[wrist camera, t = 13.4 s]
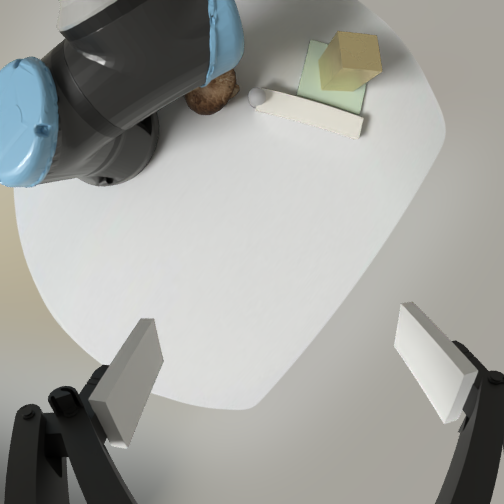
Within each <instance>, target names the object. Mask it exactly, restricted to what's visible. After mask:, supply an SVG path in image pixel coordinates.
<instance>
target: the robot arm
mask: <svg viewBox="0 0 504 504" xmlns="http://www.w3.org/2000/svg"><path fill="white" fill-rule="evenodd" d="M59 1H60V11H59V16H58V22H57V29H58V30H59V31H60V33H61V34H62V35H63V36H64V37H65V38H66V39H64V40H63V41H62V42H61V43H60V44H58V45H57V46H56V47H55V48H54V49H52V50H51V51H50V52H49V53H48V54H47V55H46V56H44V57H43V58H42V59H41V60H40V59H38V58H35V57H27V58H24V59H16V60H14V61H12V62H10V63H9V64H7V65H6V66H5V67H4V68H2V69H1V70H0V183H1V184H2V185H5V186H7V187H26V188H27V187H33V186H36V185H38V184H43V183H49V182H54V181H60V180H66V179H72V178H78V179H80V180H82V181H84V182H86V183H88V184H91V185H95V186H111V185H117V184H121V183H123V182H126V181H128V180H130V179H131V178H133V177H134V176H136V175H137V174H138V173H139V172H140V171H142V169H143V168H144V167H145V166H146V165H147V163H148V162H149V160H150V159H151V157H152V155H153V153H154V151H155V148H156V145H157V141H158V135H159V122H158V117H157V113H156V111H158V110H159V109H161V108H163V107H164V106H166V105H168V104H169V103H171V102H173V101H174V100H176V99H178V98H180V97H181V96H183V95H185V94H187V93H188V92H190V91H192V90H194V89H196V88H198V87H201V88H202V87H205V86H207V85H208V84H209V83H210V81H211V80H213V79H215V78H216V77H218V76H220V75H222V74H224V73H226V72H228V71H229V70H231V69H233V68H234V67H235V66H236V65H237V64H238V63H239V61H240V59H241V58H242V56H243V52H244V35H243V28H242V24H241V19H240V16H239V12H238V9H237V6H236V3H235V0H59ZM394 347H395V348H396V350H397V351H398V353H399V354H400V356H401V357H402V359H403V360H404V362H405V363H406V364H407V366H408V368H409V369H410V371H411V372H412V374H413V375H414V377H415V378H416V380H417V381H418V383H419V384H420V386H421V388H422V389H423V391H424V392H425V394H426V396H427V397H428V399H429V400H430V402H431V403H432V405H433V407H434V408H435V410H436V411H437V413H438V415H439V416H440V418H441V419H442V421H443V423H444V424H446V423H449V422H452V421H455V420H458V418H459V416H460V414H461V412H462V410H463V411H464V412H465V414H466V417H465V419H464V421H463V423H462V425H461V427H460V429H459V431H458V432H460V436H459V439H458V443H457V446H456V450H455V452H454V455H453V458H452V461H451V465H450V467H449V470H448V473H447V475H446V478H445V481H444V484H443V486H442V488H441V491H440V493H439V496H438V498H437V500H436V503H435V504H490V502H491V498H492V494H493V490H494V486H495V482H496V478H497V473H498V468H499V462H500V457H501V452H502V445H503V449H504V374H502V373H501V372H498V371H488V370H487V369H486V368H485V367H484V366H483V365H482V364H481V363H480V361H479V360H478V359H477V358H476V357H474V355H473V354H472V353H471V352H469V350H468V349H467V348H466V347H465V346H464V345H463V344H461V343H459V342H457V341H451V340H450V339H449V338H448V337H447V336H446V335H445V334H444V333H443V332H442V331H441V330H440V329H439V328H438V327H437V326H436V325H435V324H434V323H433V322H432V321H431V320H430V319H429V318H428V317H427V316H426V314H425V313H423V311H421V309H420V308H418V306H416V305H415V304H414V303H413V302H407V303H401V306H400V313H399V319H398V326H397V332H396V338H395V343H394ZM163 362H164V360H163V356H162V352H161V348H160V344H159V339H158V335H157V330H156V326H155V321H154V319H140V320H139V322H138V323H137V325H136V326H135V328H134V329H133V331H132V332H131V334H130V335H129V337H128V338H127V340H126V341H125V343H124V344H123V346H122V347H121V349H120V350H119V352H118V353H117V355H116V356H115V358H114V359H113V361H112V363H111V364H110V365H102V366H101V367H99V368H98V369H97V370H95V371H94V373H93V374H92V376H91V379H89V381H88V382H87V384H86V385H85V386H84V388H83V389H82V391H81V392H80V394H78V392H77V391H76V389H75V388H73V387H70V386H63V387H59V388H57V389H55V390H53V391H52V392H51V393H50V395H49V396H48V402H49V404H50V406H51V407H52V409H53V411H54V413H43V412H42V411H41V409H40V407H39V406H37V405H35V404H28V405H25V406H23V407H21V408H20V409H19V410H18V411H17V413H16V416H15V422H14V427H13V432H12V438H11V444H10V450H9V458H8V467H7V475H6V487H5V502H4V504H70V503H69V493H68V481H67V465H66V464H67V461H66V457H69V459H70V462H71V465H72V467H73V470H74V473H75V475H76V478H77V480H78V483H79V485H80V488H81V490H82V492H83V495H84V497H85V500H86V501H87V504H137V502H136V501H135V499H134V497H133V496H132V494H131V492H130V491H129V489H128V487H127V486H126V484H125V482H124V480H123V479H122V477H121V475H120V473H119V472H118V470H117V468H116V466H115V464H114V462H113V460H112V459H111V457H110V455H109V453H108V451H107V449H106V447H105V445H104V443H105V441H106V438H108V440H109V442H110V444H111V445H112V446H115V447H120V448H126V449H128V447H129V444H130V442H131V439H132V437H133V434H134V432H135V429H136V427H137V424H138V422H139V419H140V417H141V414H142V412H143V409H144V407H145V404H146V402H147V399H148V397H149V395H150V392H151V390H152V388H153V385H154V383H155V380H156V378H157V376H158V373H159V371H160V369H161V366H162V364H163Z"/></svg>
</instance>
